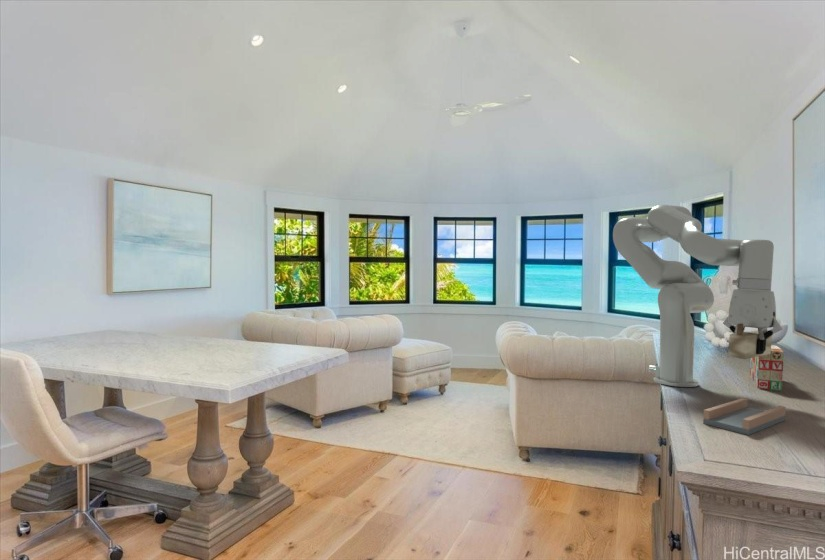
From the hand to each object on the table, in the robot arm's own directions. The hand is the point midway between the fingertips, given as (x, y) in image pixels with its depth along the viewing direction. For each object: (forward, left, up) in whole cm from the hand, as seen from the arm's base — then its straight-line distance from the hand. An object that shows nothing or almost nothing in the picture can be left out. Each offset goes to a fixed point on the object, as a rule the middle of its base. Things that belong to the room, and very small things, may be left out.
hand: (750, 351), depth 135 cm
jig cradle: (+8, -21, -14) cm, 26 cm away
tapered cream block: (0, 0, -1) cm, 1 cm away
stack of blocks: (-8, +31, -14) cm, 35 cm away
